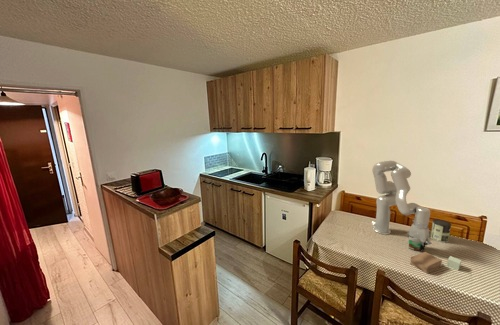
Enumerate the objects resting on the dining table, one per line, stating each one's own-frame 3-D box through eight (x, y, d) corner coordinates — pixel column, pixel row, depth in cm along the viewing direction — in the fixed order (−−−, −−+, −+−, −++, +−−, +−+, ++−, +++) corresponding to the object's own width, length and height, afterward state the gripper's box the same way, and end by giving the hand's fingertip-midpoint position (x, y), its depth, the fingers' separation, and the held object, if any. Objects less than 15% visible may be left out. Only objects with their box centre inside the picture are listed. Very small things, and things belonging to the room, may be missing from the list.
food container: (416, 254, 135) (418, 241, 133) (407, 248, 141) (408, 236, 139) (428, 250, 138) (430, 237, 136) (419, 245, 144) (421, 233, 142)
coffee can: (446, 237, 152) (449, 221, 149) (449, 244, 144) (452, 227, 141) (429, 233, 158) (431, 217, 155) (430, 239, 150) (433, 223, 147)
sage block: (446, 265, 123) (448, 259, 122) (448, 262, 126) (450, 255, 125) (458, 270, 119) (459, 263, 118) (459, 267, 122) (461, 260, 121)
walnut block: (410, 263, 126) (411, 257, 125) (424, 258, 131) (425, 251, 130) (426, 273, 118) (427, 266, 117) (440, 267, 122) (441, 260, 121)
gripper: (404, 219, 142) (401, 241, 146) (432, 231, 127) (427, 255, 130) (411, 217, 145) (407, 239, 149) (439, 229, 129) (434, 253, 133)
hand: (417, 246), depth 139 cm, fingers closed on food container, 5 cm apart
